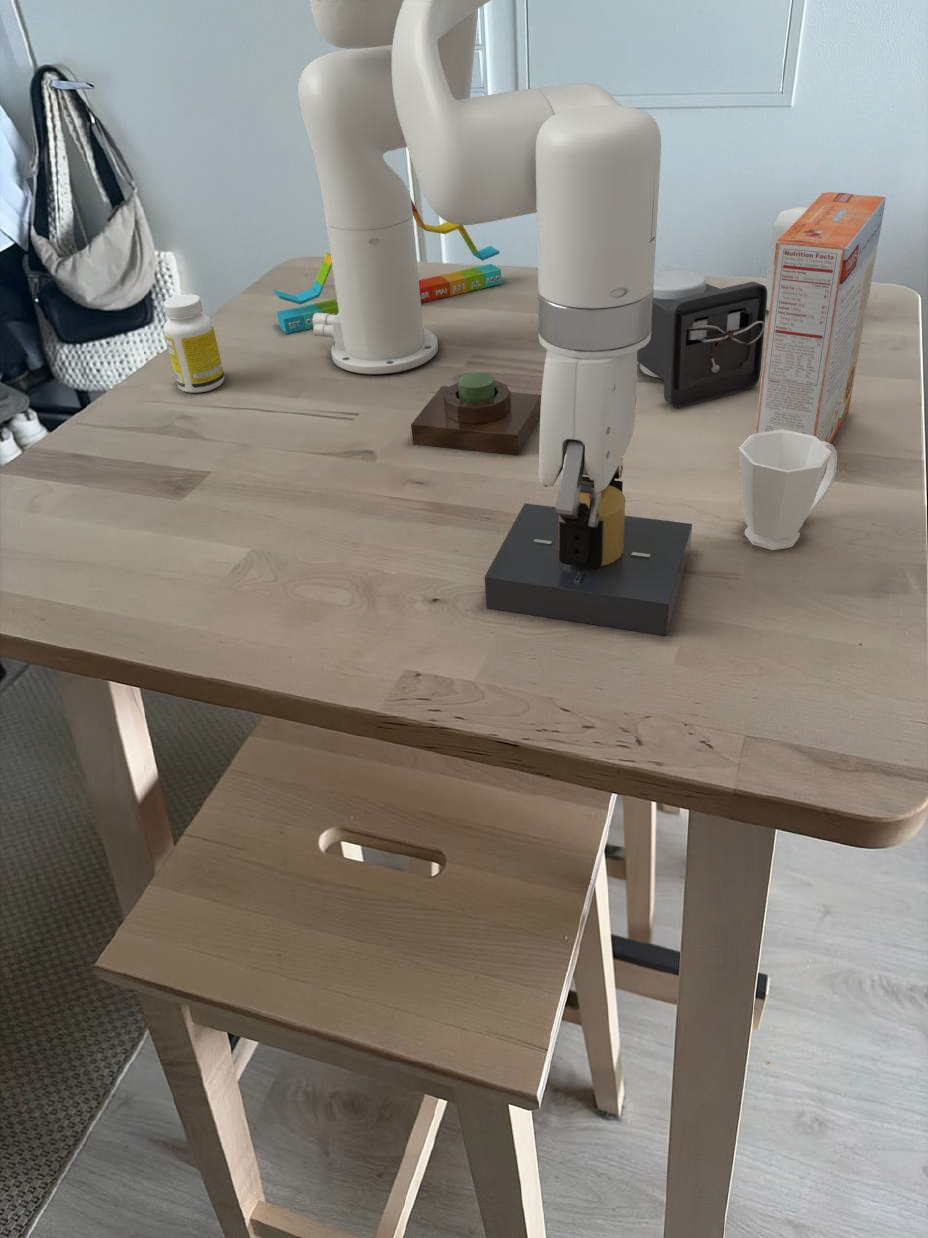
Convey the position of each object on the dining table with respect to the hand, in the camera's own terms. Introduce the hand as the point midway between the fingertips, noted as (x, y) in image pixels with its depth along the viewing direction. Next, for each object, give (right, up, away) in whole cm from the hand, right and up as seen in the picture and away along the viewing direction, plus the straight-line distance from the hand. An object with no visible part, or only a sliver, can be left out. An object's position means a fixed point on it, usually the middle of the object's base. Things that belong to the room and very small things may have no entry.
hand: (590, 541), depth 77 cm
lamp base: (-8, +13, +24) cm, 29 cm away
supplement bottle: (-40, +21, +37) cm, 59 cm away
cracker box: (+22, +11, +18) cm, 31 cm away
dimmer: (0, -1, 0) cm, 1 cm away
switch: (-9, +16, +22) cm, 29 cm away
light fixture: (+14, +20, +31) cm, 39 cm away
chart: (-19, +35, +54) cm, 67 cm away
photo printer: (+30, +30, +41) cm, 59 cm away
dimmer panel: (0, -3, +2) cm, 4 cm away
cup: (+17, +1, +6) cm, 18 cm away
